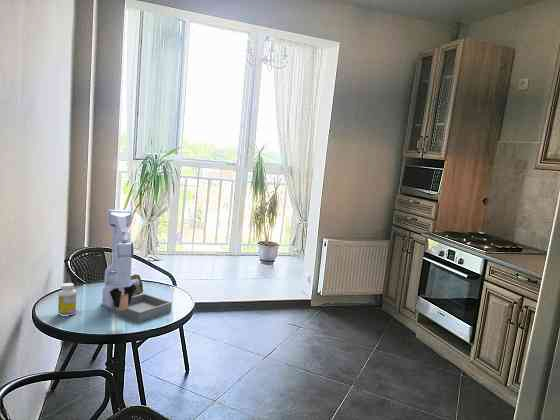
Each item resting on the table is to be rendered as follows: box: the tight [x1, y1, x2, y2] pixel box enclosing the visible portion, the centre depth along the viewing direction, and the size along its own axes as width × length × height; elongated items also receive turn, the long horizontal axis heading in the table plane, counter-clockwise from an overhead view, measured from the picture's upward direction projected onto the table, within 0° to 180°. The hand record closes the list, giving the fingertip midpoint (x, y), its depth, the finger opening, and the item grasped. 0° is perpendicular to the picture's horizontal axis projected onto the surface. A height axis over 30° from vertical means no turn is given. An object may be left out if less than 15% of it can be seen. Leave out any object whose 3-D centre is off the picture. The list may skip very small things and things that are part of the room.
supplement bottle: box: [57, 282, 77, 316], centre depth 174 cm, size 7×7×13 cm
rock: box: [124, 274, 144, 294], centre depth 208 cm, size 11×9×10 cm
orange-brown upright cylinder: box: [116, 292, 129, 311], centre depth 166 cm, size 5×5×6 cm
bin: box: [110, 293, 173, 323], centre depth 184 cm, size 18×18×4 cm
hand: (122, 305), depth 166 cm, fingers closed on orange-brown upright cylinder, 5 cm apart
